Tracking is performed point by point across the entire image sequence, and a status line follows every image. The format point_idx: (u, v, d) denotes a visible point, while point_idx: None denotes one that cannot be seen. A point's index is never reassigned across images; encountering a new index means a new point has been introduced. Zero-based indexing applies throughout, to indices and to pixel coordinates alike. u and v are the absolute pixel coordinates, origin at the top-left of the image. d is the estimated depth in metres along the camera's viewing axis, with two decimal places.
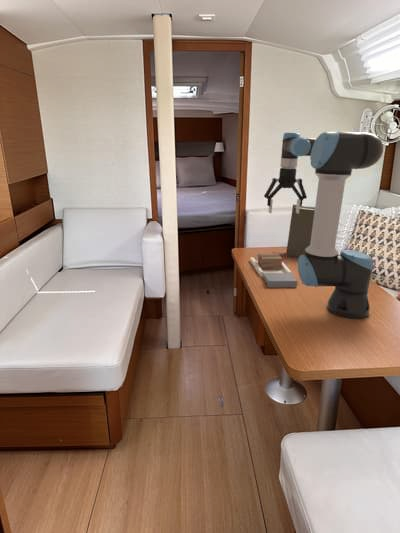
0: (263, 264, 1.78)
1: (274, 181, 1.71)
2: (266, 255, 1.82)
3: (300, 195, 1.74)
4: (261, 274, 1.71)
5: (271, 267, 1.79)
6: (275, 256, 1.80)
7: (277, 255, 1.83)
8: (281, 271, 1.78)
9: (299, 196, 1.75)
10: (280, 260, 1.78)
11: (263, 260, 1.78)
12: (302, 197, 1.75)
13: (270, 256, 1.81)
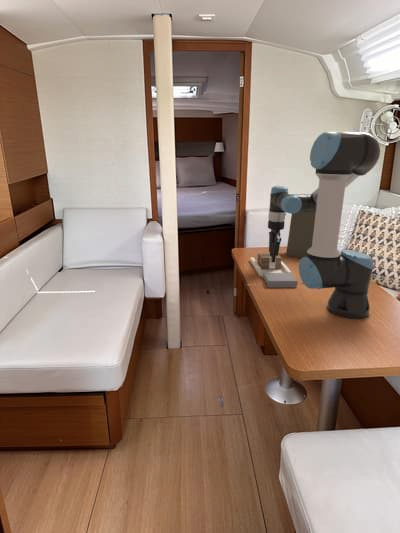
0: (262, 263, 1.79)
1: (269, 234, 1.78)
2: (266, 254, 1.83)
3: (271, 251, 1.74)
4: (261, 274, 1.71)
5: None
6: None
7: None
8: (281, 271, 1.78)
9: (271, 251, 1.74)
10: (279, 259, 1.79)
11: (262, 259, 1.79)
12: (271, 254, 1.74)
13: (269, 255, 1.82)
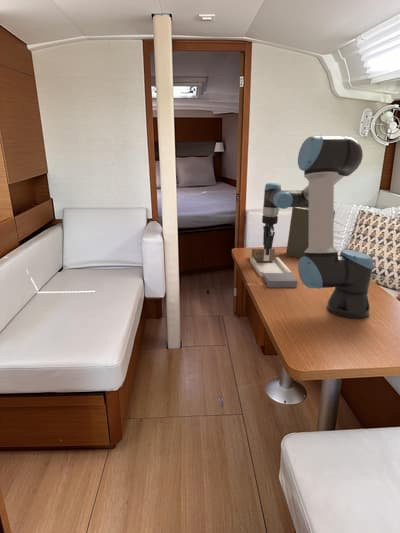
0: (257, 255, 1.89)
1: (263, 228, 1.88)
2: None
3: (266, 244, 1.84)
4: (261, 274, 1.71)
5: None
6: None
7: None
8: (281, 271, 1.78)
9: (265, 244, 1.84)
10: (273, 251, 1.90)
11: (257, 251, 1.89)
12: (265, 247, 1.84)
13: None
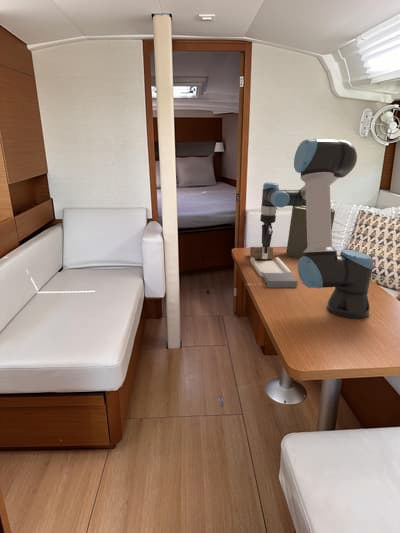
0: (256, 253, 1.93)
1: (262, 227, 1.92)
2: None
3: (264, 243, 1.88)
4: (261, 274, 1.71)
5: None
6: None
7: None
8: (281, 271, 1.78)
9: (264, 242, 1.88)
10: (271, 249, 1.94)
11: (255, 249, 1.92)
12: (264, 245, 1.88)
13: (261, 247, 1.96)
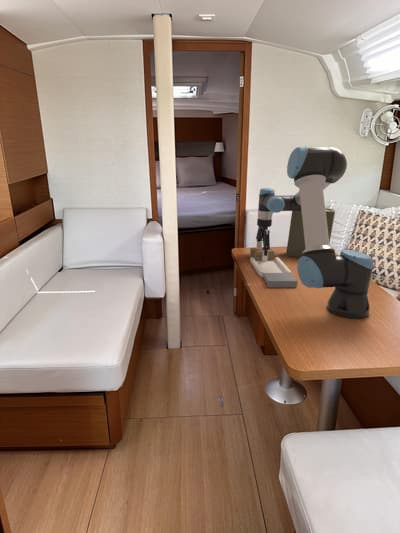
0: (257, 257, 1.92)
1: (258, 226, 1.99)
2: (258, 249, 1.96)
3: (263, 245, 1.89)
4: (261, 274, 1.71)
5: None
6: None
7: None
8: (281, 271, 1.78)
9: (263, 245, 1.90)
10: (272, 253, 1.94)
11: (257, 253, 1.91)
12: (264, 247, 1.88)
13: None
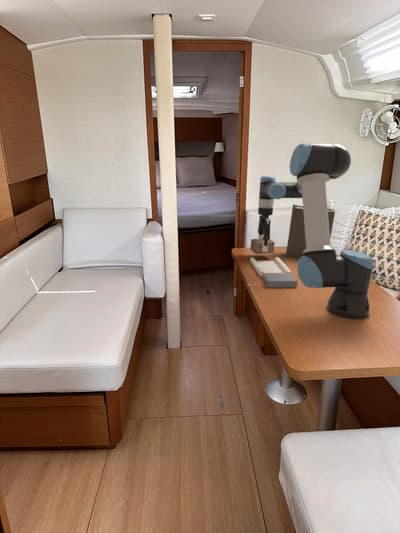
0: (258, 248, 1.91)
1: (259, 218, 1.97)
2: (259, 240, 1.95)
3: (263, 235, 1.89)
4: (261, 274, 1.71)
5: None
6: None
7: None
8: (281, 271, 1.78)
9: (263, 235, 1.89)
10: (272, 243, 1.92)
11: (258, 244, 1.90)
12: (264, 237, 1.88)
13: None
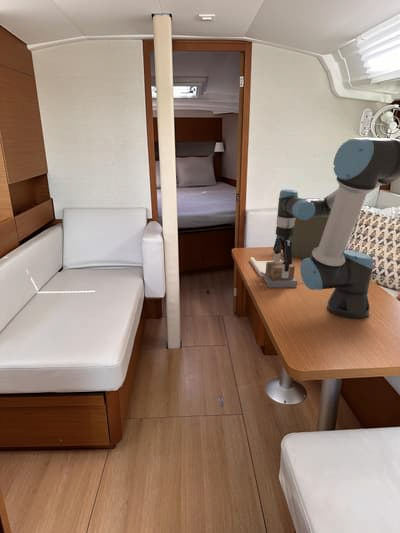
0: (275, 274, 1.60)
1: None
2: (276, 263, 1.64)
3: (284, 258, 1.56)
4: (261, 274, 1.71)
5: None
6: None
7: None
8: None
9: (284, 259, 1.56)
10: (292, 268, 1.62)
11: (275, 269, 1.60)
12: (284, 261, 1.55)
13: (281, 264, 1.63)
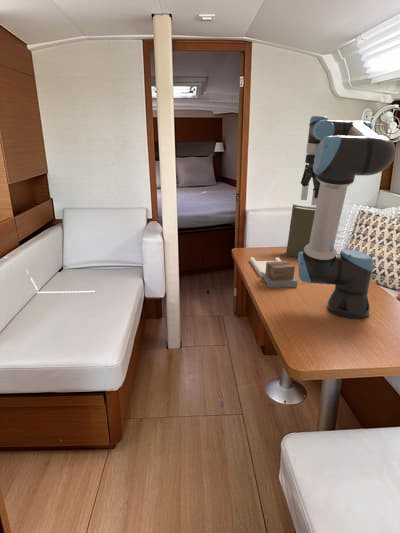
0: (275, 274, 1.60)
1: (305, 167, 1.68)
2: (276, 263, 1.64)
3: (314, 185, 1.58)
4: (261, 274, 1.71)
5: (283, 277, 1.62)
6: (286, 264, 1.63)
7: (287, 263, 1.66)
8: None
9: (314, 186, 1.59)
10: (292, 268, 1.62)
11: (275, 269, 1.60)
12: (315, 187, 1.57)
13: (281, 264, 1.63)
